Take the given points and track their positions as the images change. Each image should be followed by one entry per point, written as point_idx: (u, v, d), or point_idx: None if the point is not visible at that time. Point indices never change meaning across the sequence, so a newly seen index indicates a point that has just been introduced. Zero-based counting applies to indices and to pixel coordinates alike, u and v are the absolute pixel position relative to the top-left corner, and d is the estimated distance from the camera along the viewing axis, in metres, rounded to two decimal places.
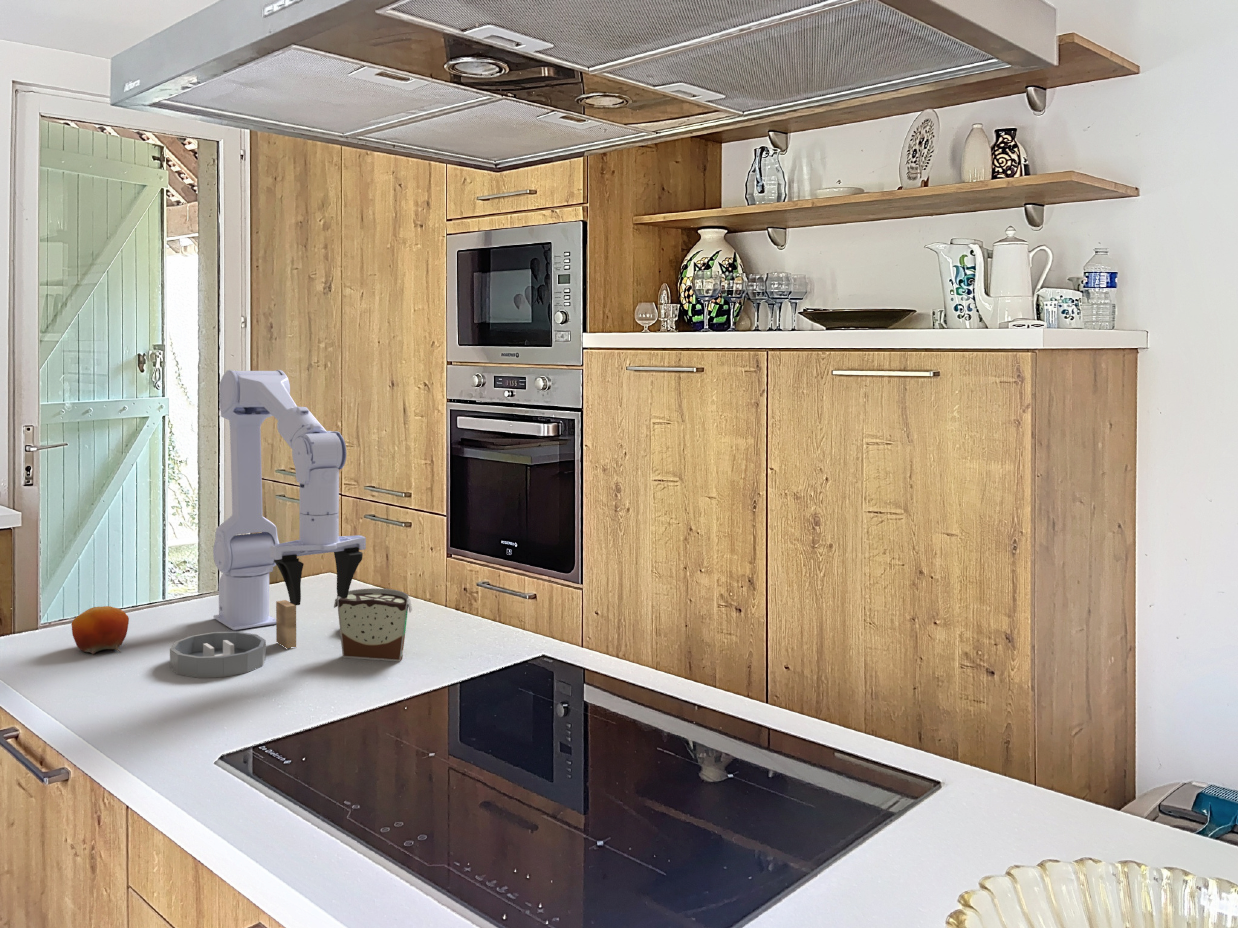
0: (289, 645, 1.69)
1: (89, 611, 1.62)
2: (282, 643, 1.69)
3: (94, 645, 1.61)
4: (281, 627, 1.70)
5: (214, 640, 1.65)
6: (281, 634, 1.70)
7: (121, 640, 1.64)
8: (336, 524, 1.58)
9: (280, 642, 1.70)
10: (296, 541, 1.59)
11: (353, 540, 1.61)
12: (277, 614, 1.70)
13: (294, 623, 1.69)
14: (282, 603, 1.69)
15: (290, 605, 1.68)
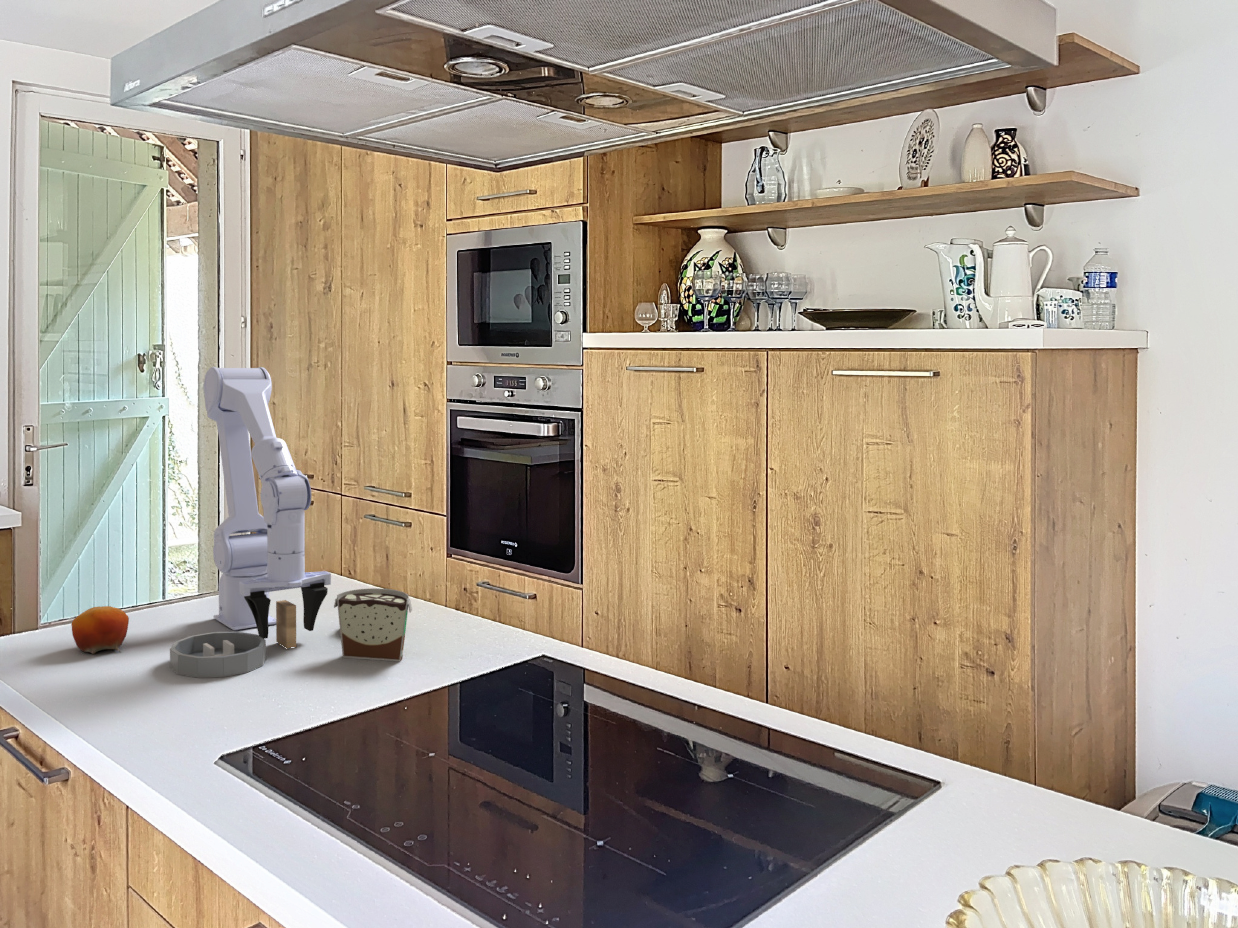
0: (289, 645, 1.69)
1: (89, 611, 1.62)
2: (282, 643, 1.69)
3: (94, 645, 1.61)
4: (281, 627, 1.70)
5: (214, 640, 1.65)
6: (281, 634, 1.70)
7: (121, 640, 1.64)
8: (302, 562, 1.68)
9: (280, 642, 1.70)
10: (264, 578, 1.69)
11: (318, 576, 1.71)
12: (277, 614, 1.70)
13: (294, 623, 1.69)
14: (282, 603, 1.69)
15: (290, 605, 1.68)
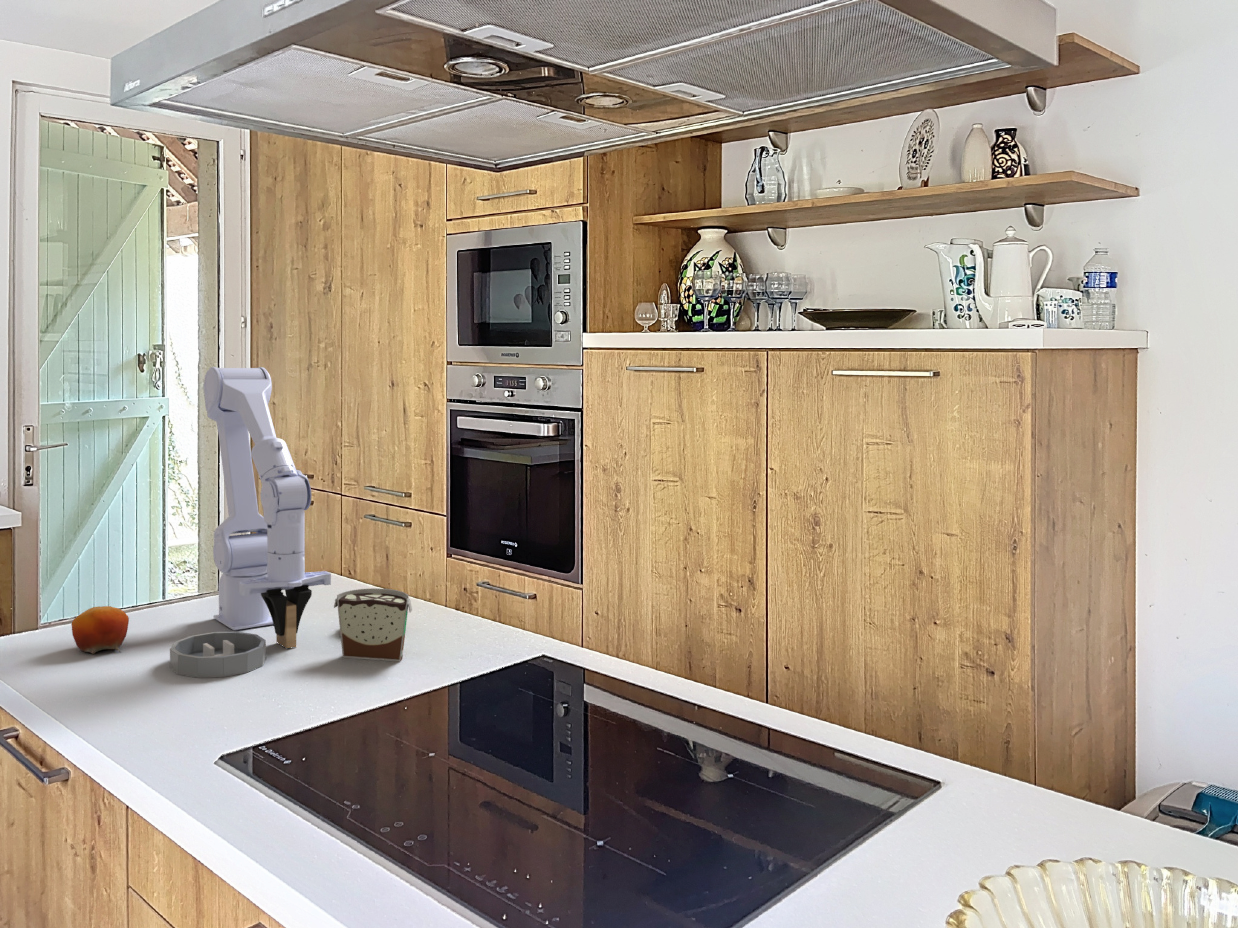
0: (289, 645, 1.69)
1: (89, 611, 1.62)
2: (282, 643, 1.69)
3: (94, 645, 1.61)
4: None
5: (214, 640, 1.65)
6: None
7: (121, 640, 1.64)
8: (302, 562, 1.68)
9: (280, 642, 1.70)
10: (264, 578, 1.69)
11: (318, 576, 1.71)
12: None
13: (294, 623, 1.69)
14: None
15: (290, 605, 1.68)
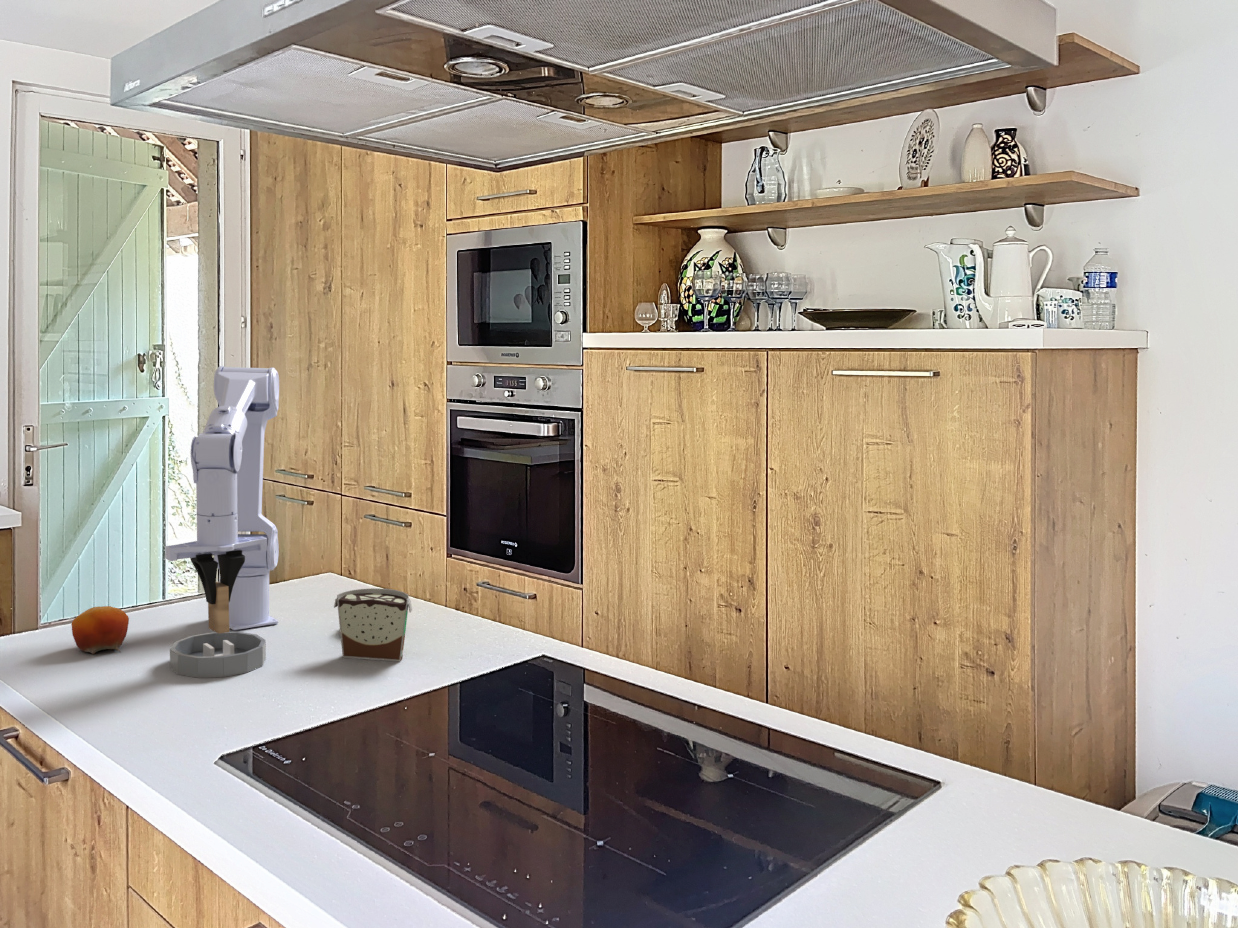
0: (221, 629, 1.58)
1: (89, 611, 1.62)
2: (214, 627, 1.59)
3: (94, 645, 1.61)
4: (212, 610, 1.59)
5: (214, 640, 1.65)
6: (213, 618, 1.59)
7: (121, 640, 1.64)
8: (234, 525, 1.57)
9: (212, 626, 1.59)
10: (194, 542, 1.58)
11: (253, 541, 1.60)
12: None
13: (226, 605, 1.58)
14: None
15: (222, 586, 1.58)
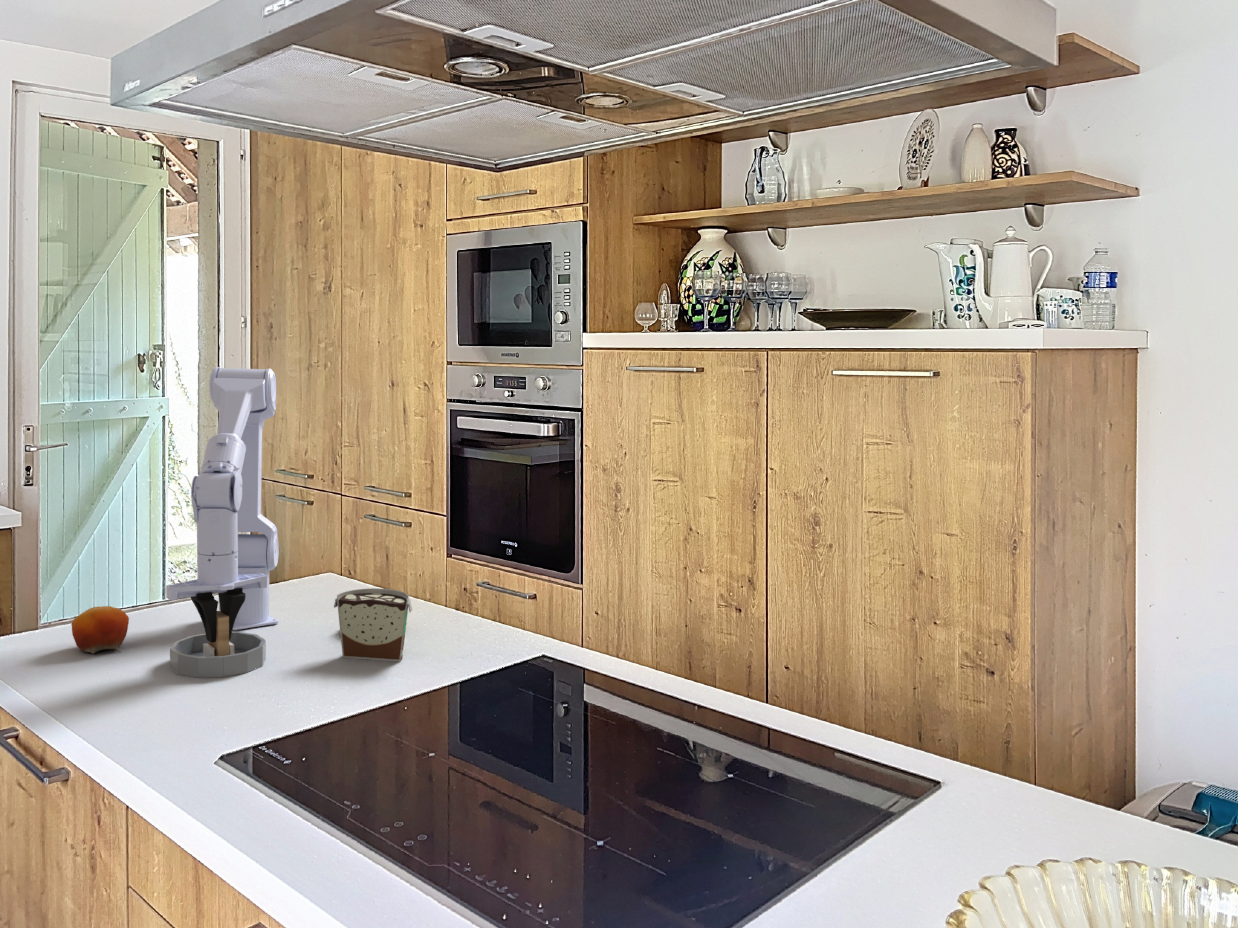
0: None
1: (89, 611, 1.62)
2: None
3: (94, 645, 1.61)
4: None
5: None
6: None
7: (121, 640, 1.64)
8: (234, 564, 1.58)
9: None
10: (195, 580, 1.58)
11: (253, 579, 1.61)
12: None
13: (227, 635, 1.58)
14: None
15: (222, 616, 1.58)
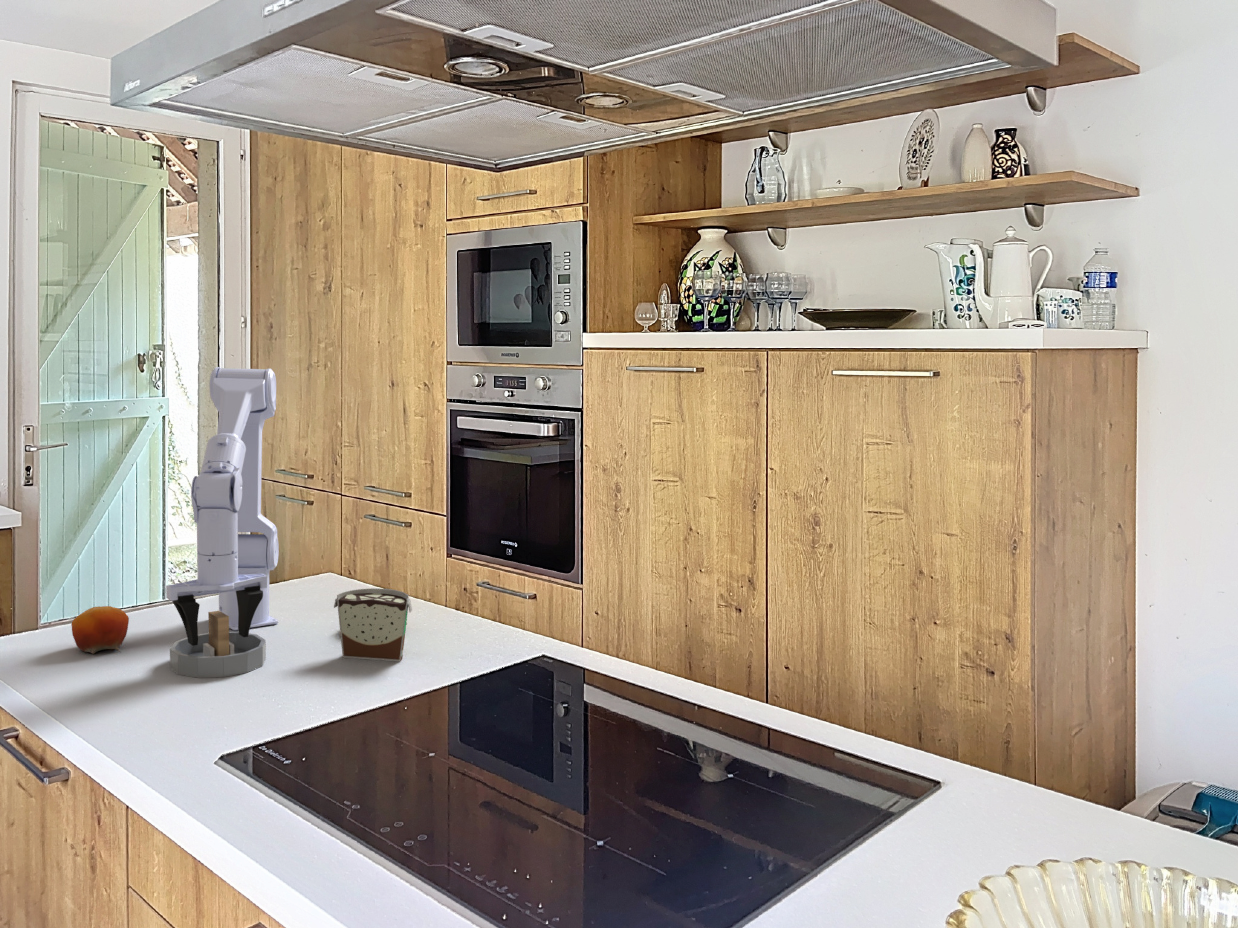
0: None
1: (89, 611, 1.62)
2: None
3: (94, 645, 1.61)
4: (213, 639, 1.59)
5: None
6: None
7: (121, 640, 1.64)
8: (234, 564, 1.58)
9: None
10: (195, 581, 1.58)
11: (253, 579, 1.61)
12: (209, 626, 1.60)
13: (227, 635, 1.58)
14: (214, 614, 1.59)
15: (222, 616, 1.58)
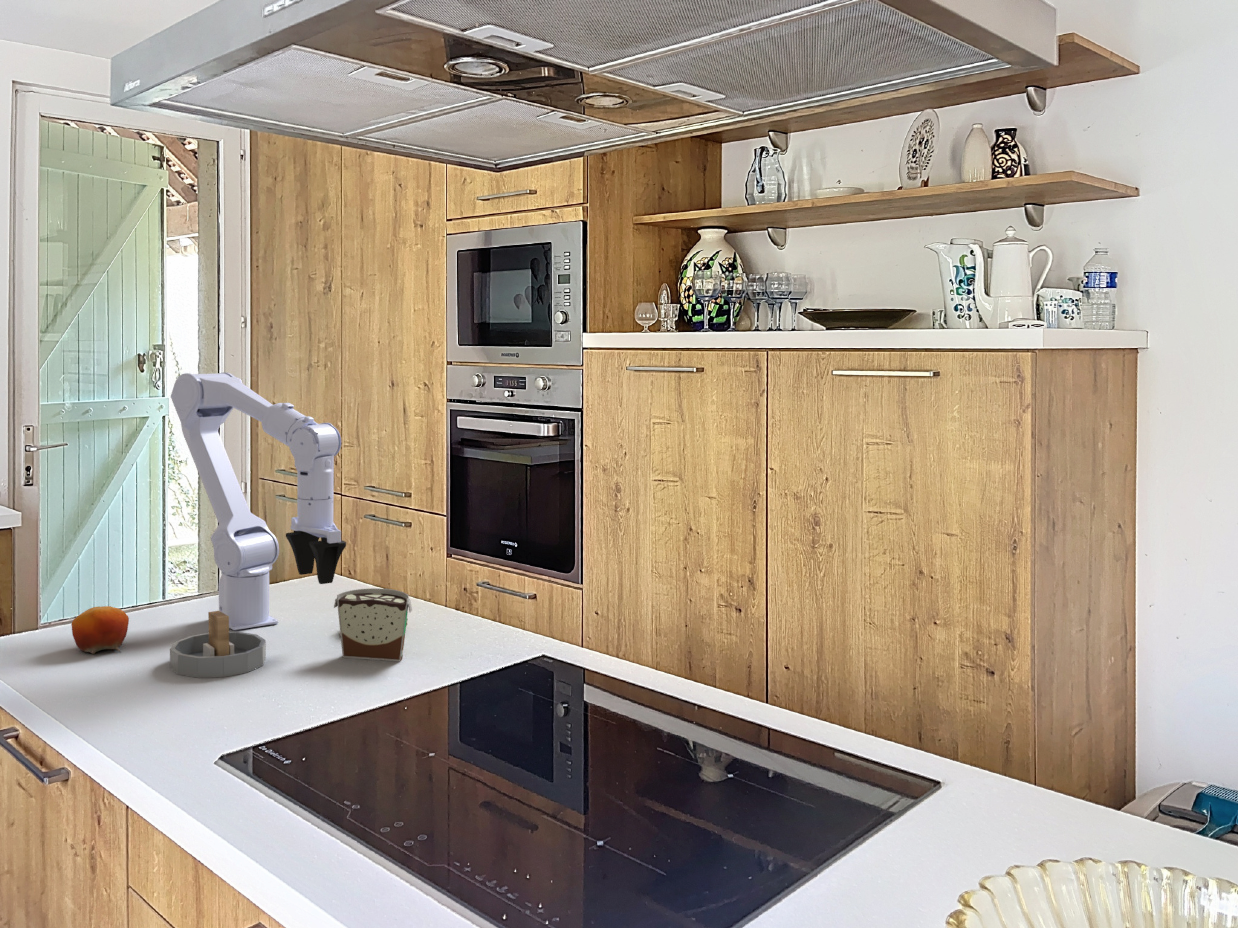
0: None
1: (89, 611, 1.62)
2: None
3: (94, 645, 1.61)
4: (213, 639, 1.59)
5: None
6: None
7: (121, 640, 1.64)
8: (306, 510, 1.70)
9: None
10: None
11: (320, 530, 1.69)
12: (209, 626, 1.60)
13: (227, 635, 1.58)
14: (214, 614, 1.59)
15: (222, 616, 1.58)
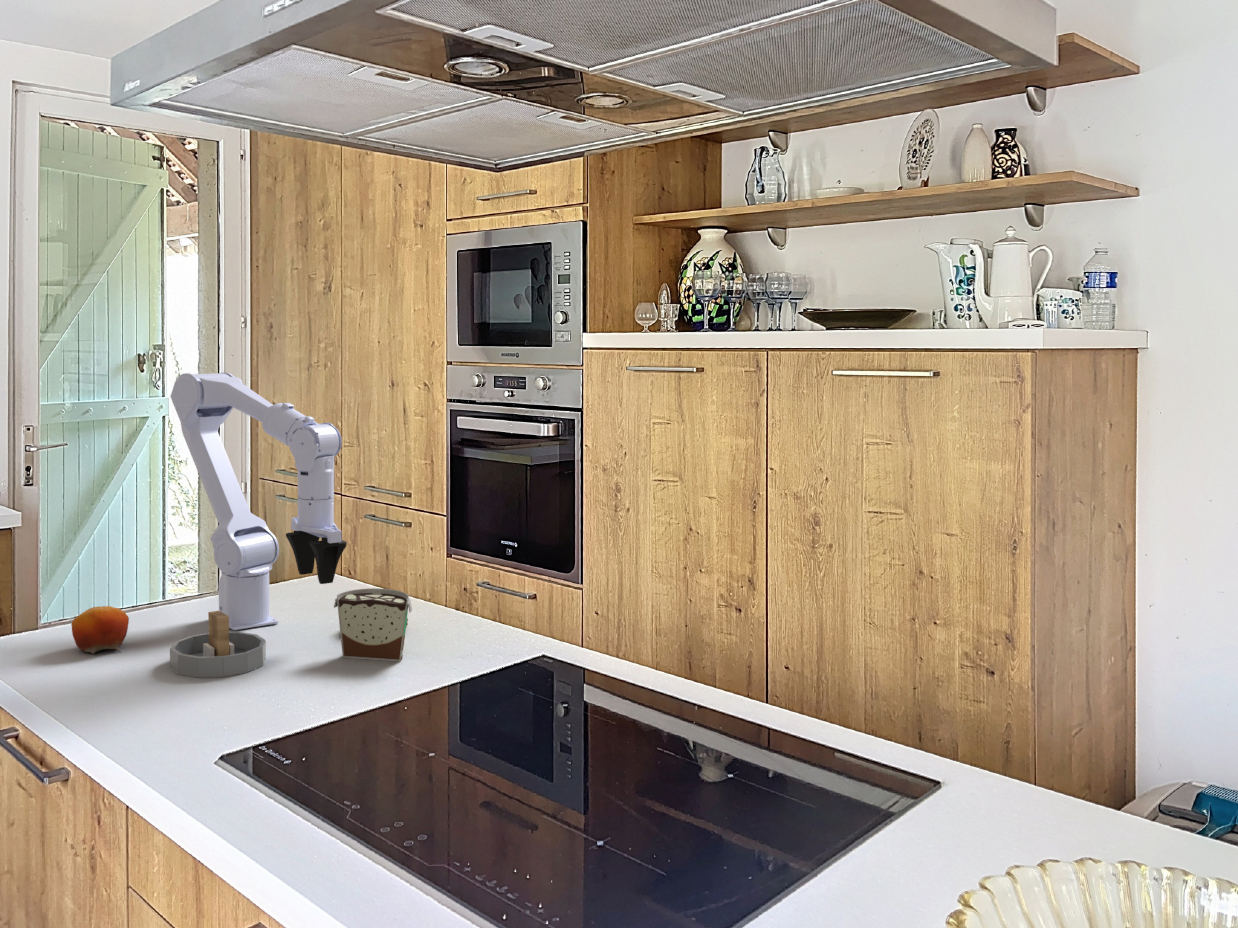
0: None
1: (89, 611, 1.62)
2: None
3: (94, 645, 1.61)
4: (213, 639, 1.59)
5: None
6: None
7: (121, 640, 1.64)
8: (306, 510, 1.70)
9: None
10: None
11: (320, 530, 1.69)
12: (209, 626, 1.60)
13: (227, 635, 1.58)
14: (214, 614, 1.59)
15: (222, 616, 1.58)
